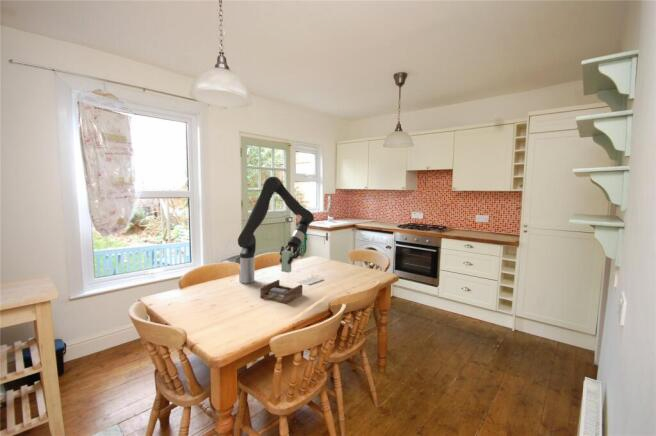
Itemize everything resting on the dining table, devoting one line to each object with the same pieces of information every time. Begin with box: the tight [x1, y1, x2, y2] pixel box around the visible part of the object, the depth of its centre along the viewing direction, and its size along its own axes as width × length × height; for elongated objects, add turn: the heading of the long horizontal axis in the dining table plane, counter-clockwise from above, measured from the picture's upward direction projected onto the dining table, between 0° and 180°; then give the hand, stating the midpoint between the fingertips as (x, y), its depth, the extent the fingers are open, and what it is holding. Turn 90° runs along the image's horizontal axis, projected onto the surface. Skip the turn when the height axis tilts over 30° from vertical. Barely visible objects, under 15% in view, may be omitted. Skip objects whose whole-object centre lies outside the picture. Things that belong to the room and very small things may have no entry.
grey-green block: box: [280, 249, 292, 274], centre depth 167 cm, size 5×3×12 cm, turn 62°
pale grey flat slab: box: [295, 275, 324, 286], centre depth 191 cm, size 31×3×12 cm
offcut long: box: [268, 292, 284, 299], centre depth 162 cm, size 12×5×2 cm, turn 62°
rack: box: [259, 279, 303, 305], centre depth 164 cm, size 18×16×7 cm
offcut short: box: [270, 288, 287, 296], centre depth 163 cm, size 9×4×2 cm, turn 68°
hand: (284, 262), depth 165 cm, fingers closed on grey-green block, 5 cm apart
